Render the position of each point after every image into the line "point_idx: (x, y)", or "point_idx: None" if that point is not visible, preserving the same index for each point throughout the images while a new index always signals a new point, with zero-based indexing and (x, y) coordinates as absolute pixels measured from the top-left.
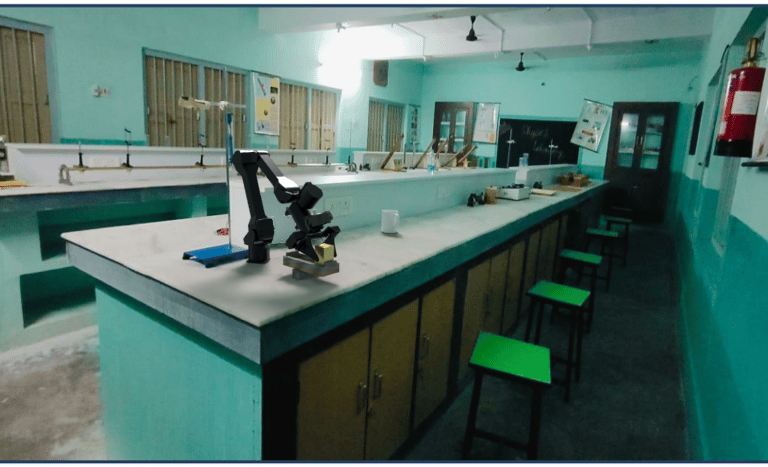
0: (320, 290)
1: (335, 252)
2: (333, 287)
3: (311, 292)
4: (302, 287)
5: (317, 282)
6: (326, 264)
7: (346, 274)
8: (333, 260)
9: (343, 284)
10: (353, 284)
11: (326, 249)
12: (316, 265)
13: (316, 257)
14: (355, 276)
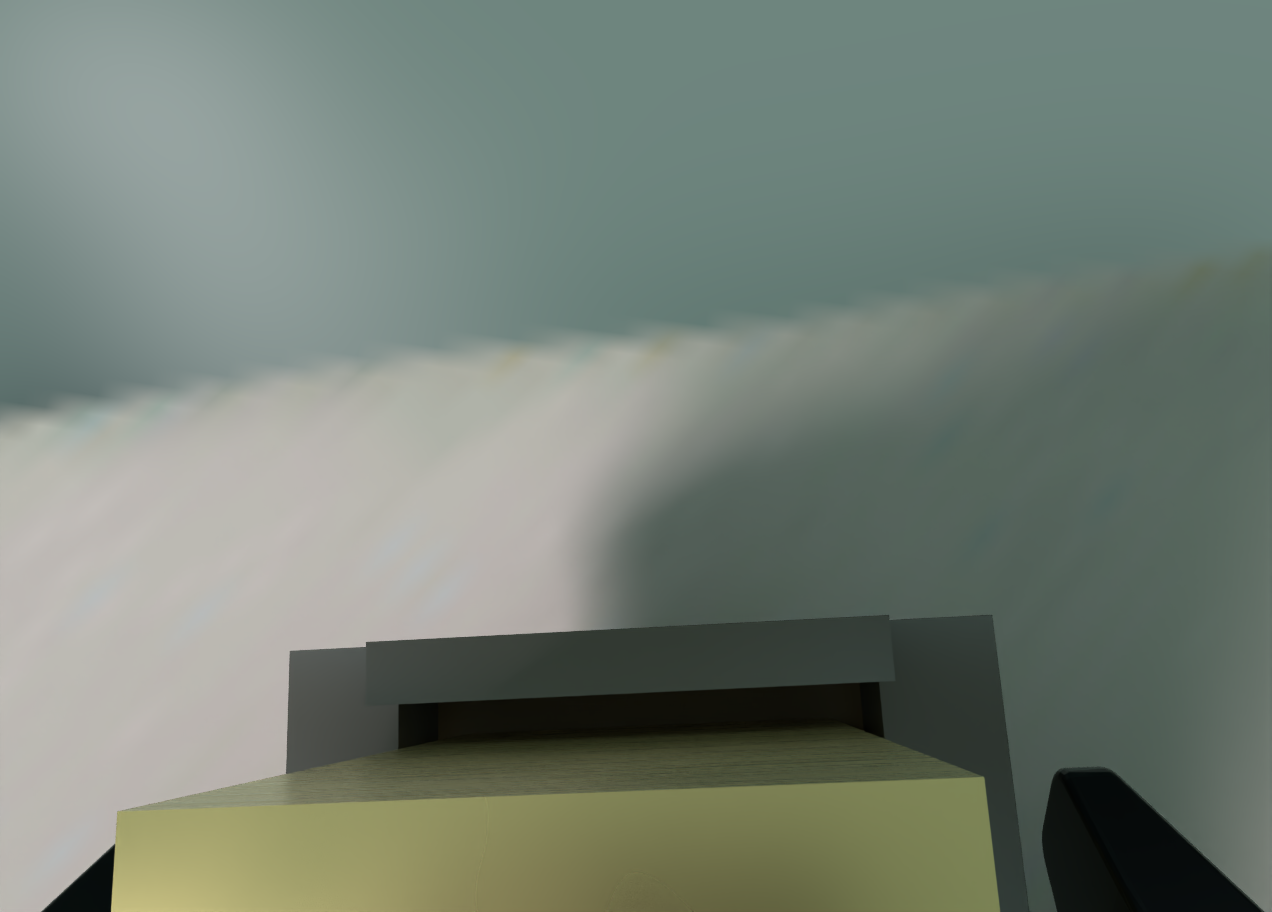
0: (1036, 502)
1: (98, 906)
2: (749, 476)
3: (1235, 524)
4: (1219, 864)
5: None
6: (820, 623)
7: (16, 899)
8: (414, 747)
9: (504, 483)
10: (380, 374)
11: (750, 776)
12: (1003, 897)
13: (1208, 864)
14: (6, 681)
